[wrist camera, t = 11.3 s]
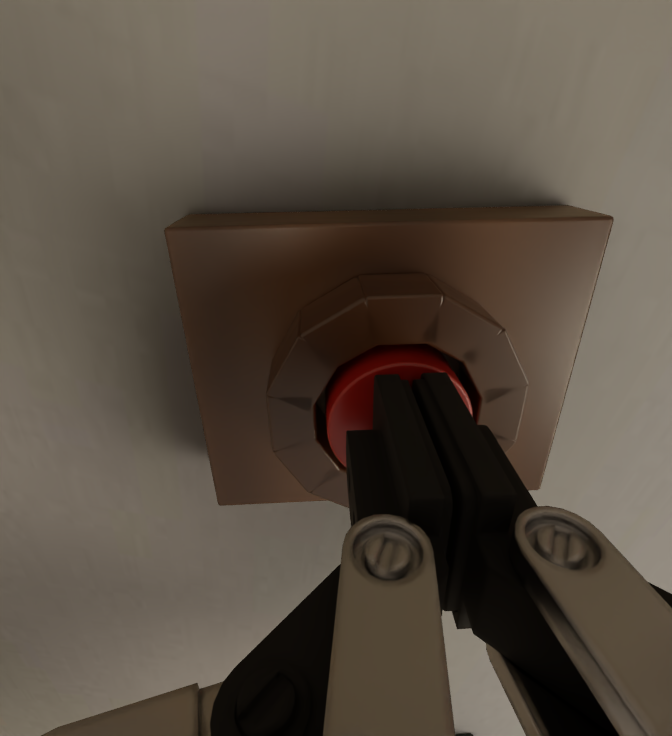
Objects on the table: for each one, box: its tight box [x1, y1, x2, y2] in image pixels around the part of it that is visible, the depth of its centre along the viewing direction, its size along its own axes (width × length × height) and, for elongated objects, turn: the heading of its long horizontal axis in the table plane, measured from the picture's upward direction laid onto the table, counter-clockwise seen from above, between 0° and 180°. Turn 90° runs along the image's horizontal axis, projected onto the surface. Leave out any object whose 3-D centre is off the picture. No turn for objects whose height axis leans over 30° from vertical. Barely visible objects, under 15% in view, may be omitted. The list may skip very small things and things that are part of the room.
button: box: [325, 344, 473, 467], centre depth 11 cm, size 4×4×2 cm
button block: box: [164, 205, 613, 508], centre depth 13 cm, size 11×9×4 cm
